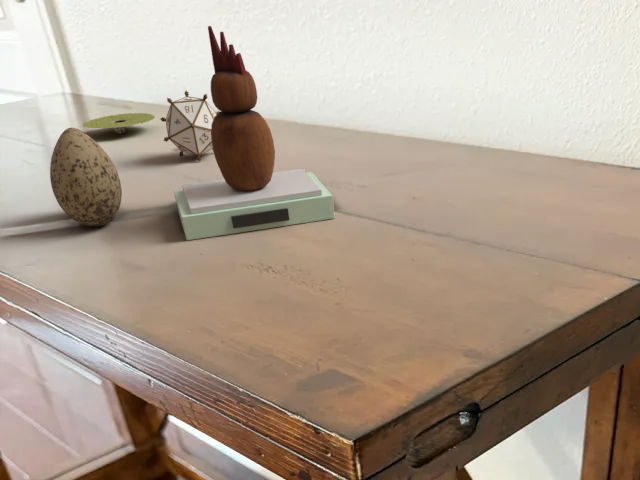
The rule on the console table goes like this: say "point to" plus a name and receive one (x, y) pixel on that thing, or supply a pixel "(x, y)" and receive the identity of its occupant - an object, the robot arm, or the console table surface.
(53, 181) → the decorative egg
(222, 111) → the wooden figurine
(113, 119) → the olive green flat disc
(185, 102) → the game die
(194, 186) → the kitchen scale
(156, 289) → the console table surface
